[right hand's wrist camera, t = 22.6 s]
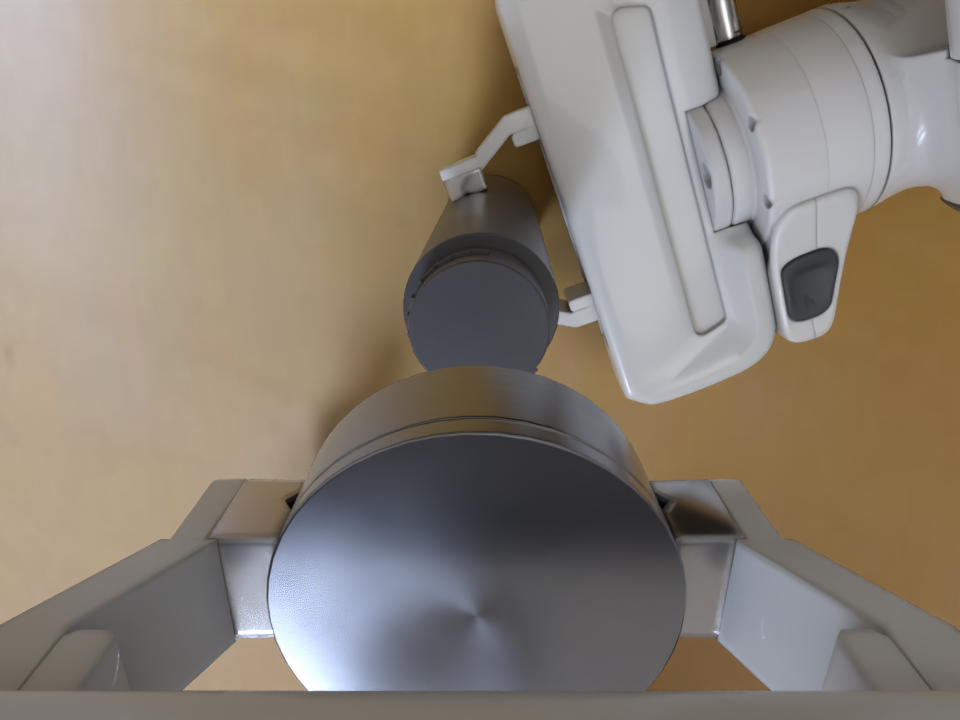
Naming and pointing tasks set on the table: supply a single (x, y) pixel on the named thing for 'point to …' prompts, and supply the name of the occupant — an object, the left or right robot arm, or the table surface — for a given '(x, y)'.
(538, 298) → the grey tall cylinder
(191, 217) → the table surface
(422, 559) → the lid
